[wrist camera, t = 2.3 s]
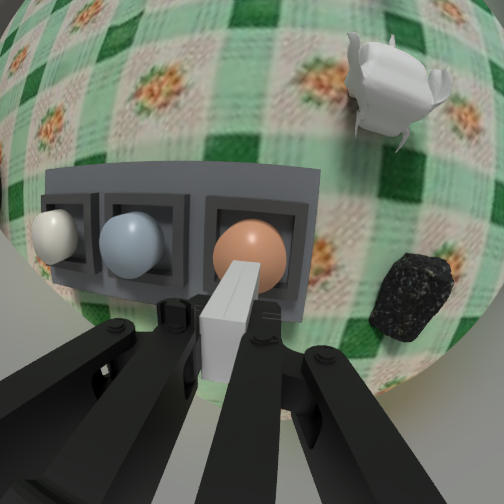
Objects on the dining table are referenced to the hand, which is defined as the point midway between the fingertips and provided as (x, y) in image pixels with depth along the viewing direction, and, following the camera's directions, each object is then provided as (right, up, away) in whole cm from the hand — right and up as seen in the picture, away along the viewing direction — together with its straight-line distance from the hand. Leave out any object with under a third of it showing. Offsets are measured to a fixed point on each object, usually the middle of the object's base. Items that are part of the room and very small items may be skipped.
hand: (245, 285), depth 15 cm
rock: (+18, -3, +13) cm, 22 cm away
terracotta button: (0, +2, +7) cm, 7 cm away
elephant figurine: (+13, +18, +8) cm, 23 cm away
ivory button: (-19, +4, +8) cm, 21 cm away
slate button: (-10, +3, +7) cm, 12 cm away
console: (-9, +4, +13) cm, 16 cm away
